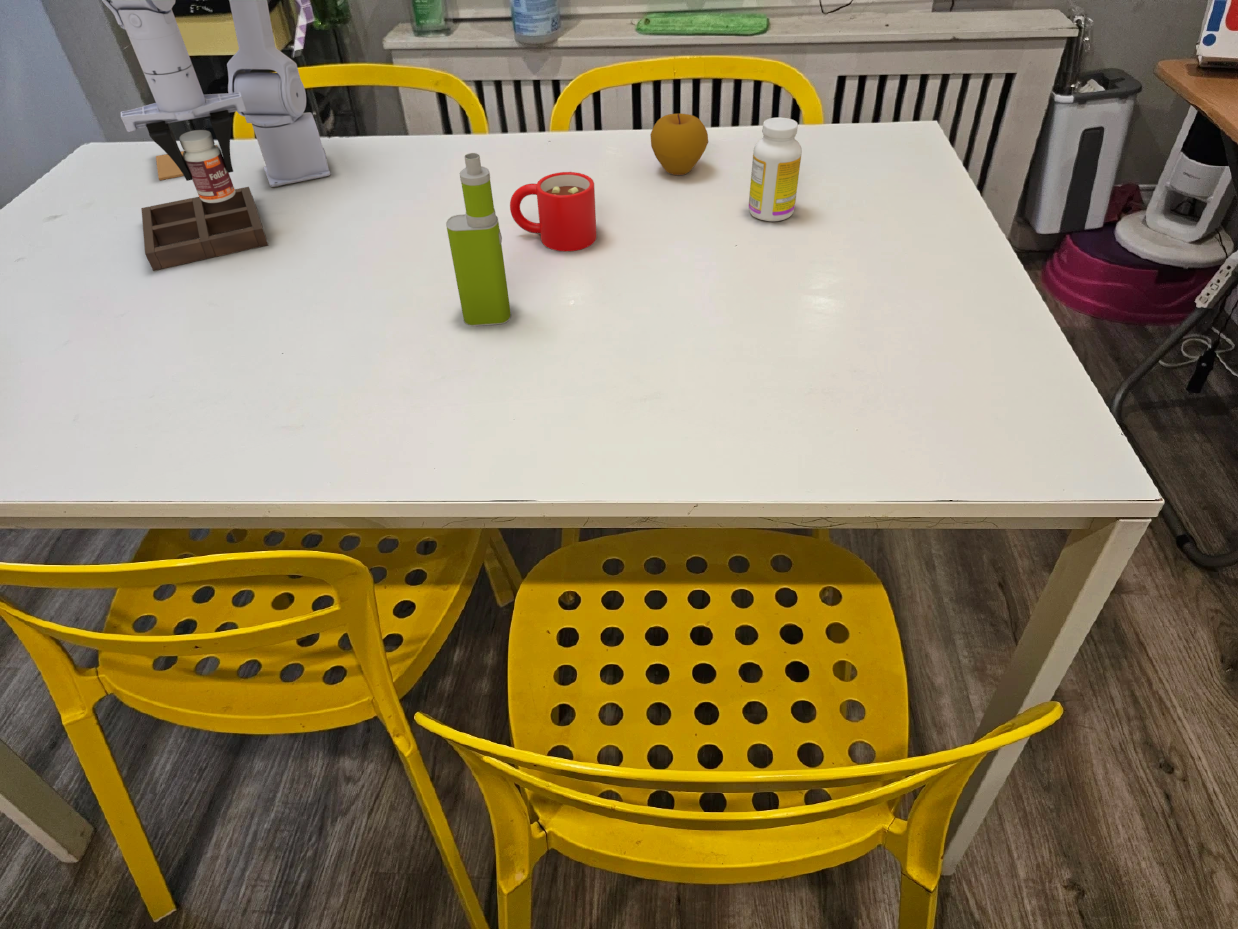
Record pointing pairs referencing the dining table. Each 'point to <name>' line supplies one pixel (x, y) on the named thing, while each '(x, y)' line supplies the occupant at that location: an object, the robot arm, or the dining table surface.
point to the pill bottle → (206, 166)
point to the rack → (200, 229)
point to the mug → (560, 210)
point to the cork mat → (167, 167)
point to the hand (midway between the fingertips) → (209, 173)
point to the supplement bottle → (775, 171)
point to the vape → (478, 250)
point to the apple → (678, 142)
